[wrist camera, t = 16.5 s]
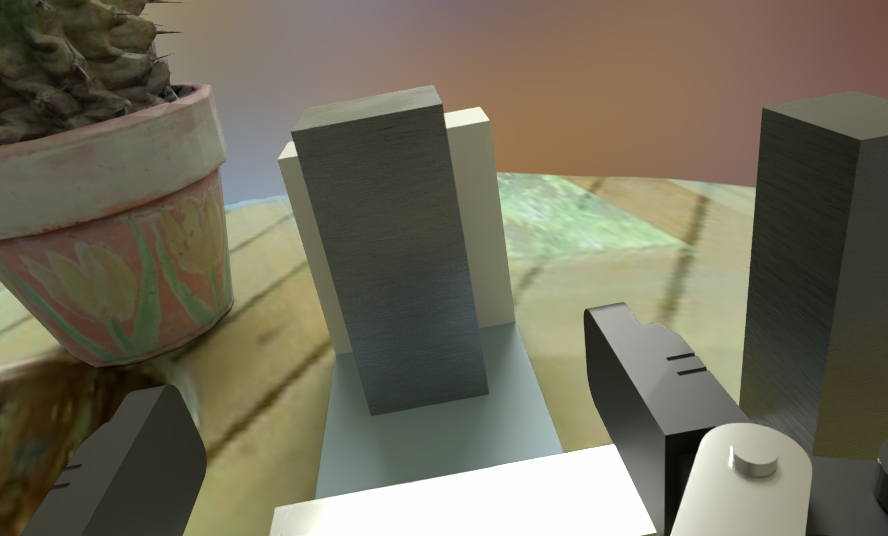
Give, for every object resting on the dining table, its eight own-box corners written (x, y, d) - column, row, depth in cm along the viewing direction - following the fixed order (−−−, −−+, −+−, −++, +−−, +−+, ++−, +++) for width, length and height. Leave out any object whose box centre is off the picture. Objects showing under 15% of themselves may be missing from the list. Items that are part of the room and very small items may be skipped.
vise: (272, 907, 12) (19, 561, 7) (344, 338, 32) (288, 142, 27) (693, 829, 12) (715, 432, 7) (506, 308, 32) (479, 106, 27)
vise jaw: (286, 674, 15) (94, 281, 10) (301, 571, 18) (156, 218, 13) (904, 558, 15) (1030, 108, 10) (828, 473, 18) (897, 82, 13)
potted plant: (168, 247, 50) (29, -92, 39) (349, 268, 40) (231, -176, 29) (-72, 373, 36) (-390, -90, 25) (112, 451, 27) (-273, -244, 16)
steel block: (371, 416, 24) (290, 131, 19) (373, 361, 28) (306, 108, 23) (489, 394, 24) (442, 103, 19) (476, 341, 28) (433, 84, 23)
